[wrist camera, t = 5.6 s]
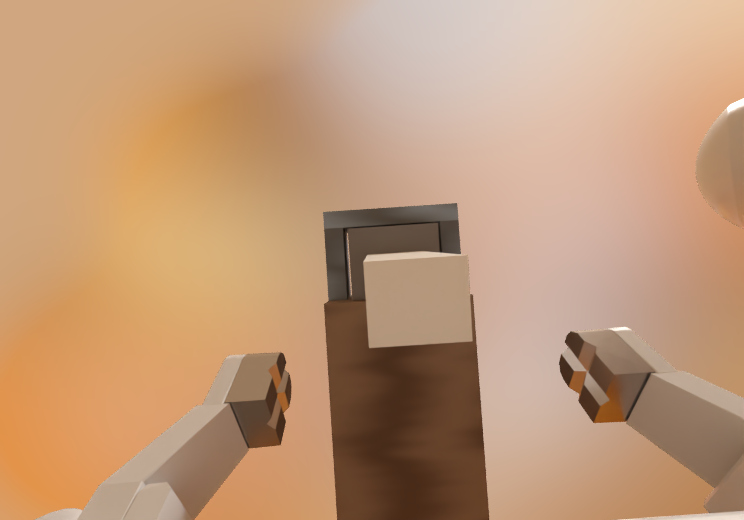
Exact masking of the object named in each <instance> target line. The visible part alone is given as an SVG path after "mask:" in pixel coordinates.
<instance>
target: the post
mask: <svg viewBox="0 0 744 520" xmlns="http://www.w3.org/2000/svg"><path fill="white" fill-rule="evenodd" d="M323 214H324V215H323V216H324V232H325V248H326V264H327V279H328V297H329V301H328V302H327V303H325V304H324V309H325V310H324V311H325V327H326V343H327V359H328V375H329V393H330V407H331V425H332V441H333V458H334V474H335V489H336V507H337V520H489V510H488V497H487V483H486V469H485V455H484V441H483V427H482V415H481V400H480V386H479V373H478V359H477V345H476V331H475V318H474V304H473V295H472V294H470V302H471V321H472V339H473V341H471V342H455V343H440V344H424V345H409V346H393V347H378V348H369V341H368V326H367V311H366V300H353V297H352V295H351V290H350V276H349V259H348V244H347V233H348V229H351V228H366V227H382V226H397V225H412V224H427V223H438V232H439V249H440V253H450V254H461V252H460V237H459V223H458V210H457V203H454V204H439V205H424V206H408V207H394V208H378V209H363V210H348V211H333V212H323Z"/></svg>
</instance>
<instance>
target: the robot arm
mask: <svg viewBox="0 0 744 520" xmlns="http://www.w3.org/2000/svg"><path fill="white" fill-rule="evenodd" d="M696 179H697V183H698V186H699V189H700V191H701V193H702V195H703V197H704V199H705V200H706V201H707V203H708V204H709V205H710V206H711V207H712V208H713V210H715V212H717V213H718V214H719V215H720V216H722V217H723V218H724V219H726V220H728V221H729V222H731V223H732V224H734V225H736V226H738V227H740V228H742V229H744V99H742V100H740V101H737V102H735V103H733V104H731V105H730V106H728V107H727V108H726V109H725V110H724V112H723V113H722V114H721V115H720V116H719V117H718V118H717V119H716V121H715V122H714V123H713V124H712V126H711V127H710V129H709V130H708V132H707V133H706V135H705V137H704V139H703V141H702V143H701V146H700V148H699V151H698V155H697V160H696ZM565 343H566V345H567V346H568V348H567V349H566V350H565V351H564V352H563V353H562V354H561V358H560V362H559V365H560V372H561V374H562V377H563V379H564V381H565V382H566V384H567V385H568V387H569V388H571V389H573V390H574V391H576V392H578V393H579V400H578V401H579V403H580V404H581V406H582V407H583V409H584V410H585V411H586V412H587V414H588V416H589V417H590V419H591V420H592V421H593V423H603V422H625V421H627V424H628V425H629V426H631V427H632V428H633V429H635V430H636V431H637V432H639V433H640V434H642V435H643V436H645V437H646V438H647V439H648V440H650V441H651V442H653V443H654V444H655V445H657V446H658V447H659V448H661V449H662V450H663V451H665V452H666V453H667V454H669V455H670V456H672V457H673V458H674V459H676V460H677V461H678V462H680V463H681V464H682V465H684V466H685V467H687V468H688V469H689V470H691V471H692V472H694V473H695V474H696V475H697V476H699V477H700V478H702V479H703V480H704V481H706V482H707V483H708V484H710V485H711V486H712V487H714V490H713V491H712V492H711V493H710V494H709V496H708V497H707V498H706V499H705V502H704V507H705V508H706V510H707V511H708V512H709V513H706V514H692V515H678V516H663V517H649V518H635V519H621V520H744V398H742V397H740V396H738V395H736V394H734V393H732V392H729V391H727V390H725V389H723V388H721V387H718V386H716V385H714V384H712V383H710V382H707V381H705V380H703V379H701V378H698V377H696V376H694V375H692V374H690V373H688V372H685V371H677V370H676V369H675V368H674V367H673V366H672V365H671V364H669V363H668V362H667V361H666V360H665V359H664V358H663V357H662V356H661V355H659V354H658V353H657V352H656V351H655V350H654V349H653V348H652V347H651V346H649V345H648V344H647V343H646V342H645V341H644V340H643V339H642V338H641V337H639V336H638V335H637V334H636V333H635V332H634V331H633V330H631V329H629V328H627V327H620V328H609V329H596V330H584V331H573V332H570V333H569V334H568V335H567V337H566V340H565ZM285 364H286V360H285V357H284V354H283V353H260V354H246V355H229V356H228V357H227V358H225V360H224V362H223V364H222V366H221V368H220V370H219V372H218V374H217V376H216V378H215V380H214V382H213V384H212V386H211V388H210V390H209V392H208V394H207V396H206V398H205V400H204V403H203V404H202V405H198V406H195V407H194V408H193V409H192V410H191V411H189V412H188V413H187V414H186V415H185V416H183V417H182V418H181V419H180V420H178V421H177V422H176V423H175V424H173V425H172V426H171V427H170V428H169V429H167V430H166V431H165V432H164V433H162V434H161V435H160V436H159V437H158V438H156V439H155V440H154V441H153V442H151V443H150V444H149V445H148V446H147V447H145V448H144V449H143V450H142V451H141V452H139V453H138V454H137V455H136V456H134V457H133V458H132V459H131V460H130V461H128V462H127V463H126V464H125V465H123V466H122V467H121V468H120V469H119V470H117V471H116V472H115V473H114V474H112V475H111V476H110V477H109V478H108V479H106V480H105V481H104V482H103V483H102V484H100V485H99V487H98V488H97V490H96V491H95V493H94V494H93V496H92V498H91V499H90V501H89V502H88V504H87V505H86V507H85V508H84V510H83V511H82V513H81V514H80V516H79V517H78V519H77V520H194V519H195V518H196V517H197V515H198V514H199V513H200V512H201V510H202V509H203V508H204V506H205V505H206V504H207V503H208V501H209V500H210V499H211V498H212V496H213V495H214V494H215V493H216V491H217V490H218V489H219V488H220V486H221V485H222V484H223V482H224V481H225V480H226V479H227V477H228V476H229V475H230V474H231V472H232V471H233V470H234V469H235V467H236V466H237V465H238V463H239V462H240V461H241V460H242V458H243V457H244V456H245V454H246V453H247V452H248V448H258V447H267V446H277V445H281V441H282V436H283V432H284V428H285V423H286V421H285V418H284V414H283V413H284V412H285V411H286V410H287V409H288V408H289V404H290V399H291V380H290V375H289V373H288V372H287V371H286V370H284V368H285Z"/></svg>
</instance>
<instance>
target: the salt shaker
mask: <svg viewBox="0 0 744 520" xmlns="http://www.w3.org/2000/svg"><path fill="white" fill-rule="evenodd" d="M82 511H83V510H80V509H76V508H75V509H74V508H73V509H72V508H71V509H63V510H59V511H55V512H51V513H49V514H46V515H44V516H42V517H39V518H37V519H35V520H77V519H78V517H79V516H80V514H81V513H82Z"/></svg>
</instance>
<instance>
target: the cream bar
mask: <svg viewBox="0 0 744 520" xmlns="http://www.w3.org/2000/svg"><path fill="white" fill-rule="evenodd" d="M348 238H349V252H350V268H351V282H352V297H353V300H366V311H367V326H368V341H369V348H378V347H393V346H409V345H424V344H440V343H455V342H471V341H473V339H472V321H471V302H470V285H469V264H468V255H462V254H450V253H440V249H439V232H438V223H427V224H412V225H397V226H382V227H366V228H351V229H348Z"/></svg>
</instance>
